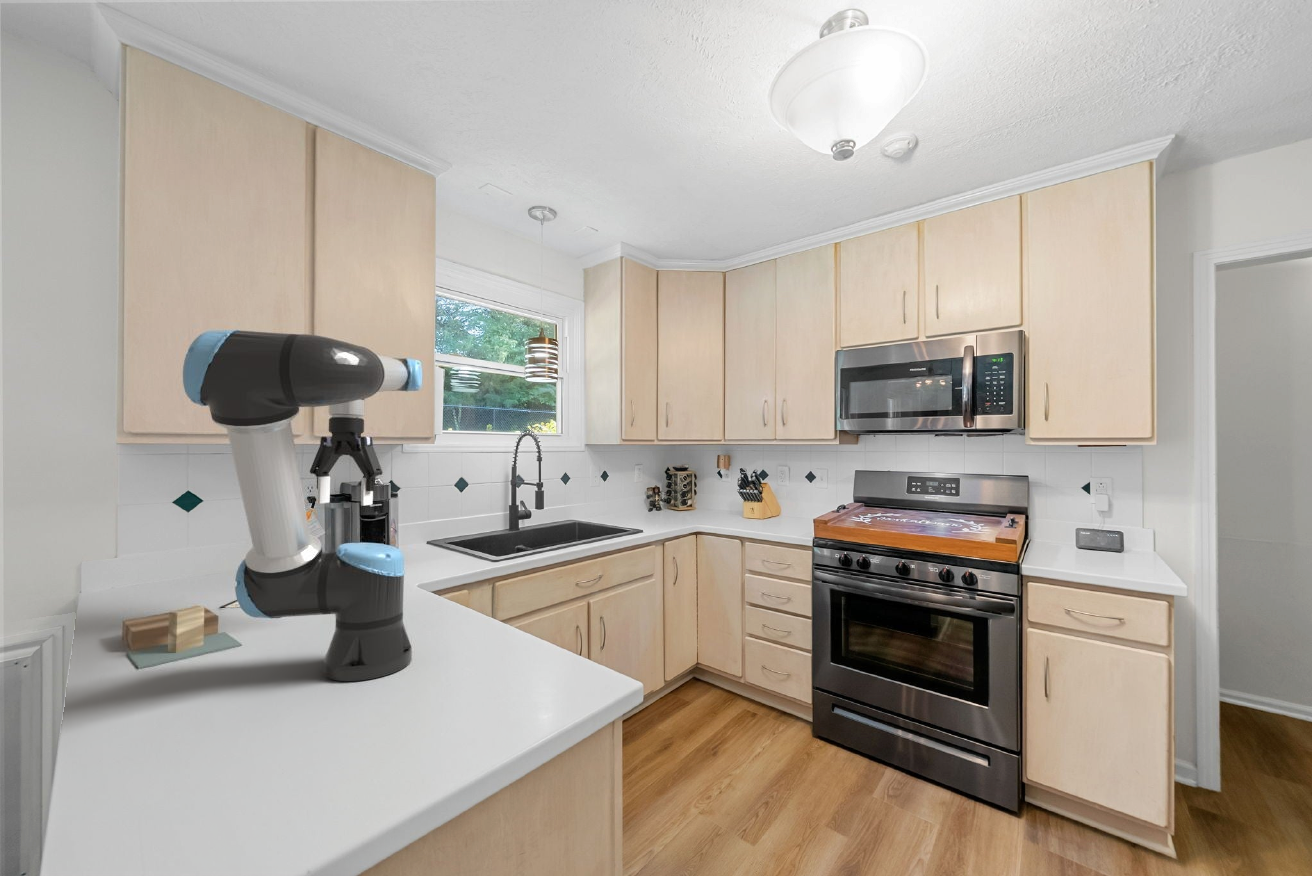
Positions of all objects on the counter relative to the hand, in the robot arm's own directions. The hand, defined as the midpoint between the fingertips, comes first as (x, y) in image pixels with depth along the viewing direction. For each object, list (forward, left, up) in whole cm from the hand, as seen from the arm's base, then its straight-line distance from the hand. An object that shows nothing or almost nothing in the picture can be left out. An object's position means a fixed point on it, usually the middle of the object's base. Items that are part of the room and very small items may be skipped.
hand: (344, 504), depth 132 cm
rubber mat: (+6, +28, -29) cm, 41 cm away
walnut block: (+19, +28, -29) cm, 44 cm away
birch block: (+6, +28, -28) cm, 40 cm away
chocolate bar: (+40, +6, -29) cm, 50 cm away
